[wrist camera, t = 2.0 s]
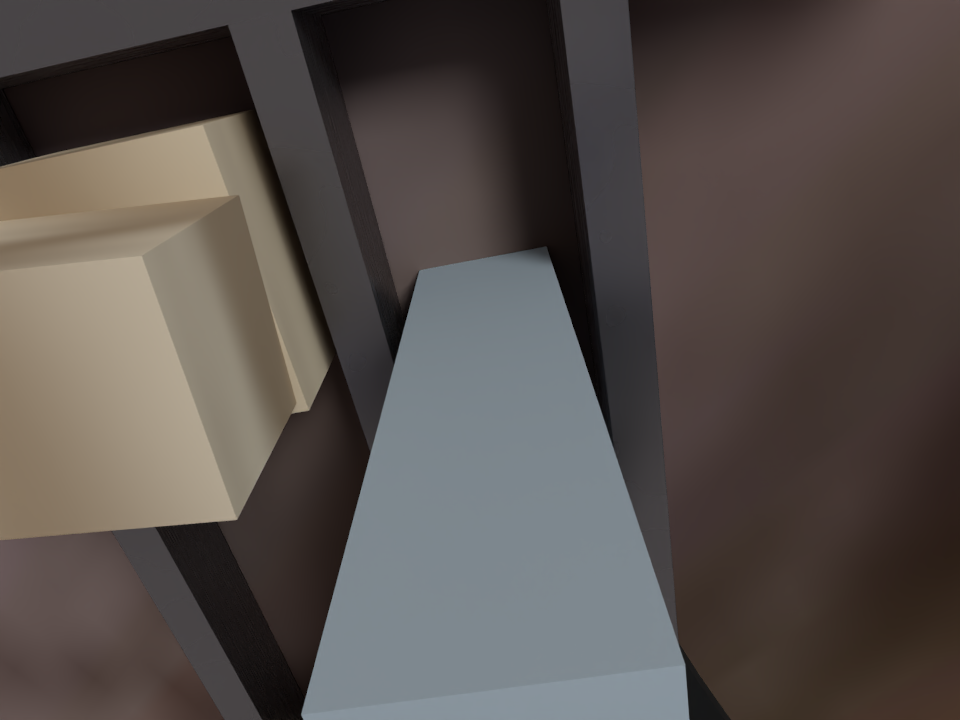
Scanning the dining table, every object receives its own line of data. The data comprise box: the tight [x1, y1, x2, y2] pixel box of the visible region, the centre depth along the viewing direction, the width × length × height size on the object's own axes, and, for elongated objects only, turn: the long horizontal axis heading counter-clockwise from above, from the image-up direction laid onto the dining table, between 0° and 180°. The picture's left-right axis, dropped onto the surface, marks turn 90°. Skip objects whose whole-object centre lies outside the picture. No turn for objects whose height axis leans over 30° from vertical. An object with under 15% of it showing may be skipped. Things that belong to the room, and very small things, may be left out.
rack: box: [0, 0, 678, 720], centre depth 13 cm, size 10×22×2 cm, turn 11°
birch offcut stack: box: [0, 109, 337, 540], centre depth 8 cm, size 4×4×5 cm
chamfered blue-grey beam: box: [301, 247, 689, 720], centre depth 10 cm, size 2×12×8 cm, turn 11°
